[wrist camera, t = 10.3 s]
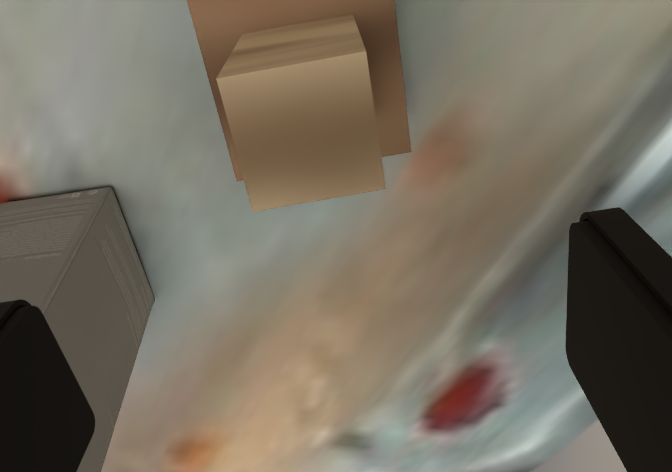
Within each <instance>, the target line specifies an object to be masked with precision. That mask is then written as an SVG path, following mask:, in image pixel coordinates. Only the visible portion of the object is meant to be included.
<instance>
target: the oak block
mask: <svg viewBox="0 0 672 472" xmlns="http://www.w3.org/2000/svg"><path fill="white" fill-rule="evenodd" d="M216 80H217V83H218V87H219V91H220V94H221V98H222V102H223V105H224V109H225V113H226V116H227V120H228V123H229V127H230V131H231V134H232V138H233V142H234V145H235V149H236V153H237V156H238V160H239V164H240V167H241V171H242V174H243V178H244V182H245V185H246V189H247V193H248V196H249V200H250V204H251V207H252V211H259V210H265V209H271V208H277V207H283V206H289V205H294V204H300V203H306V202H312V201H318V200H324V199H330V198H336V197H342V196H348V195H354V194H359V193H365V192H371V191H377V190H383V189H386V187H385V180H384V173H383V166H382V159H381V152H380V145H379V138H378V131H377V124H376V117H375V110H374V103H373V96H372V89H371V82H370V75H369V68H368V61H367V54H366V49H365V47H364V44H363V41H362V38H361V35H360V33H359V30H358V27H357V24H356V21H355V19H354V16H353V14H347V15H342V16H336V17H331V18H326V19H320V20H315V21H310V22H304V23H299V24H294V25H288V26H283V27H278V28H272V29H267V30H262V31H256V32H251V33H246V34H242V35H241V37H240V39H239V40H238V42H237V44H236V46H235V47H234V49H233V51H232V52H231V54H230V56H229V58H228V59H227V61H226V63H225V64H224V66H223V68H222V70H221V71H220V73H219V75H218V76H217V78H216Z"/></svg>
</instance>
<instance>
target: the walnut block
mask: <svg viewBox="0 0 672 472" xmlns="http://www.w3.org/2000/svg"><path fill="white" fill-rule="evenodd" d="M187 2H188V6H189V10H190V13H191V17H192V20H193V24H194V28H195V31H196V35H197V38H198V42H199V46H200V49H201V53H202V56H203V60H204V64H205V67H206V71H207V75H208V78H209V82H210V85H211V89H212V93H213V96H214V100H215V103H216V107H217V111H218V114H219V118H220V122H221V125H222V129H223V132H224V136H225V140H226V143H227V147H228V150H229V154H230V158H231V161H232V165H233V169H234V172H235V176H236V179H237V181H242V180H244V178H243V174H242V171H241V167H240V164H239V160H238V156H237V153H236V149H235V145H234V142H233V138H232V134H231V131H230V127H229V123H228V120H227V116H226V113H225V109H224V105H223V102H222V98H221V94H220V91H219V87H218V83H217V80H216V78H217V76H218V75H219V73H220V71H221V70H222V68H223V66H224V64H225V63H226V61H227V59H228V58H229V56H230V54H231V52H232V51H233V49H234V47H235V46H236V44H237V42H238V40H239V39H240V37H241V35H242V34H246V33H251V32H256V31H262V30H267V29H272V28H278V27H283V26H288V25H294V24H299V23H304V22H310V21H315V20H320V19H326V18H331V17H336V16H342V15H347V14H353V16H354V19H355V21H356V24H357V27H358V30H359V33H360V35H361V38H362V41H363V44H364V47H365V49H366V54H367V61H368V68H369V75H370V82H371V89H372V96H373V103H374V110H375V117H376V124H377V131H378V138H379V145H380V152H381V157H384V156H390V155H396V154H402V153H408V152H411V147H410V138H409V129H408V119H407V110H406V101H405V92H404V83H403V74H402V65H401V56H400V47H399V38H398V29H397V20H396V10H395V1H394V0H187Z"/></svg>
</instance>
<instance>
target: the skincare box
mask: <svg viewBox="0 0 672 472" xmlns="http://www.w3.org/2000/svg"><path fill="white" fill-rule="evenodd" d="M20 299H22V300H26V301H27V302H29V303H30V304H31V306H37V307H38V308H39V309H40V310H41V312H42V313H43V315H44V317H45V319H46V321H47V323H48V325H49V327H50V329H51V331H52V333H53V335H54V336H55V338H56V340H57V342H58V344H59V346H60V348H61V350H62V352H63V354H64V356H65V358H66V360H67V362H68V364H69V366H70V368H71V370H72V372H73V374H74V376H75V377H76V379H77V381H78V383H79V385H80V387H81V389H82V391H83V393H84V395H85V397H86V399H87V401H88V403H89V405H90V407H91V409H92V411H93V413H94V416H95V430H94V434H93V436H92V438H91V441H90V443H89V445H88V447H87V449H86V452H85V454H84V456H83V458H82V461H81V463H80V465H79V467H78V470H77V472H101V470H102V467H103V463H104V460H105V457H106V454H107V450H108V447H109V444H110V441H111V437H112V434H113V431H114V426H115V423H116V420H117V417H118V414H119V411H120V408H121V404H122V401H123V398H124V395H125V392H126V388H127V385H128V382H129V379H130V376H131V372H132V369H133V366H134V363H135V360H136V356H137V353H138V350H139V347H140V344H141V340H142V337H143V334H144V330H145V327H146V324H147V321H148V317H149V314H150V311H151V308H152V305H153V302H154V300H155V299H154V296H153V294H152V291H151V288H150V286H149V283H148V281H147V278H146V275H145V273H144V270H143V268H142V265H141V262H140V260H139V257H138V255H137V252H136V249H135V247H134V244H133V241H132V239H131V236H130V233H129V231H128V228H127V225H126V223H125V220H124V218H123V215H122V212H121V210H120V207H119V205H118V202H117V200H116V197H115V195H114V192H113V190H112V188H111V187H105V188H99V189H93V190H86V191H80V192H73V193H67V194H60V195H54V196H47V197H41V198H33V199H27V200H20V201H12V202H6V203H1V204H0V302H7V301H13V300H20Z"/></svg>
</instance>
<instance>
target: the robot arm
mask: <svg viewBox="0 0 672 472" xmlns="http://www.w3.org/2000/svg"><path fill="white" fill-rule="evenodd" d="M566 354H567V358H568V362H569V365H570V367H571V369H572V371H573V373H574V375H575V377H576V379H577V380H578V382H579V384H580V386H581V388H582V390H583V391H584V393H585V395H586V397H587V399H588V401H589V402H590V404H591V406H592V408H593V410H594V412H595V413H596V415H597V417H598V419H599V421H600V423H601V424H602V426H603V428H604V430H605V432H606V434H607V435H608V437H609V439H610V441H611V443H612V444H613V446H614V448H615V450H616V452H617V454H618V456H619V457H620V459H621V461H622V463H623V465H624V467H625V468H626V470H627V472H672V257H671V256H670V255H669V254H668V253H667V252H665V251H664V250H663V249H662V248H661V247H660V246H659V245H658V244H657V243H656V242H655V241H654V240H653V239H652V238H651V237H650V236H649V235H648V234H647V233H646V232H645V231H644V230H643V229H642V228H641V227H640V226H639V225H638V224H637V223H636V222H635V221H634V220H633V219H632V218H631V217H630V216H629V215H628V214H627V213H626V212H625V211H624V210H622V209H621V208H611V209H605V210H598V211H592V212H585V213H583V214H582V215H581V217H580V221H579V222H576V223H572V224H571V226H570V231H569V259H568V290H567V322H566ZM94 430H95V416H94V413H93V411H92V409H91V407H90V405H89V403H88V401H87V399H86V397H85V395H84V393H83V391H82V389H81V387H80V385H79V383H78V381H77V379H76V377H75V376H74V374H73V372H72V370H71V368H70V366H69V364H68V362H67V360H66V358H65V356H64V354H63V352H62V350H61V348H60V346H59V344H58V342H57V340H56V338H55V336H54V335H53V333H52V331H51V329H50V327H49V325H48V323H47V321H46V319H45V317H44V315H43V313H42V312H41V310H40V309H39V308H38V307H37V306H31V304H30V303H29V302H27V301H26V300H22V299H20V300H13V301H7V302H0V472H77V470H78V467H79V465H80V463H81V461H82V458H83V456H84V454H85V452H86V449H87V447H88V445H89V443H90V441H91V438H92V436H93V434H94Z"/></svg>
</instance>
